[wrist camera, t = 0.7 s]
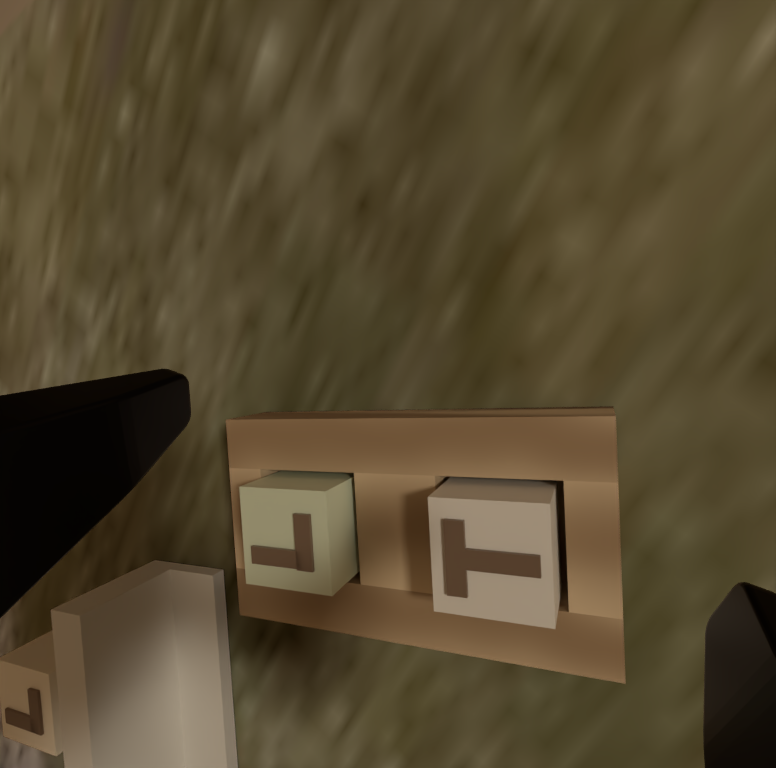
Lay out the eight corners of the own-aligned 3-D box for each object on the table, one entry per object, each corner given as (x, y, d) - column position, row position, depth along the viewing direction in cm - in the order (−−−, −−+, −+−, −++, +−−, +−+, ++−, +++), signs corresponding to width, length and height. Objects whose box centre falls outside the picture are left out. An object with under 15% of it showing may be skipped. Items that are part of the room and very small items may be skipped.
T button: (561, 587, 19) (555, 632, 16) (456, 575, 20) (432, 613, 17) (557, 480, 18) (549, 505, 15) (451, 476, 20) (426, 498, 17)
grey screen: (241, 817, 28) (152, 934, 22) (173, 792, 30) (75, 894, 24) (223, 569, 27) (127, 625, 22) (154, 560, 29) (50, 609, 23)
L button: (366, 564, 22) (330, 598, 19) (287, 555, 23) (243, 585, 20) (360, 473, 21) (323, 492, 19) (282, 470, 23) (236, 487, 20)
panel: (621, 636, 20) (625, 683, 17) (278, 586, 26) (239, 614, 23) (613, 406, 19) (615, 416, 16) (266, 412, 25) (225, 419, 23)
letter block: (129, 701, 31) (53, 758, 26) (79, 686, 33) (0, 738, 28) (123, 630, 31) (45, 676, 26) (73, 619, 32) (-8, 660, 28)
